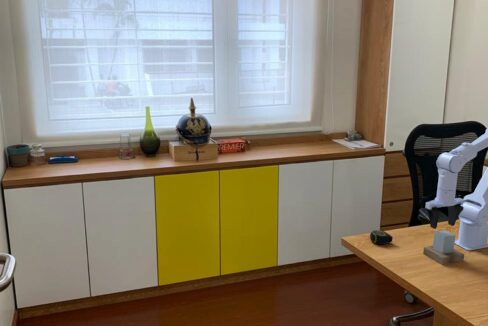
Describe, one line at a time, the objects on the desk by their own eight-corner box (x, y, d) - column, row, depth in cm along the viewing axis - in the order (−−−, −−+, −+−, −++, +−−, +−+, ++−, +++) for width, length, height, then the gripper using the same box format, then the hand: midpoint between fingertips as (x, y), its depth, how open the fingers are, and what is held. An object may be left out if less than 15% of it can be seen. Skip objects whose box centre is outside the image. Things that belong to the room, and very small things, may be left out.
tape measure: (392, 244, 176) (393, 235, 175) (376, 247, 174) (377, 237, 173) (382, 237, 182) (383, 228, 181) (366, 239, 180) (366, 230, 179)
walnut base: (443, 251, 171) (444, 243, 171) (463, 262, 163) (464, 254, 163) (423, 255, 168) (423, 247, 168) (441, 266, 160) (442, 257, 159)
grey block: (443, 246, 168) (445, 230, 167) (453, 252, 164) (455, 235, 163) (432, 248, 167) (434, 231, 165) (442, 253, 162) (444, 236, 161)
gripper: (454, 183, 170) (450, 219, 174) (421, 187, 166) (417, 224, 169) (470, 189, 164) (465, 226, 167) (435, 193, 159) (431, 232, 162)
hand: (442, 226), depth 168 cm, fingers open, 7 cm apart
